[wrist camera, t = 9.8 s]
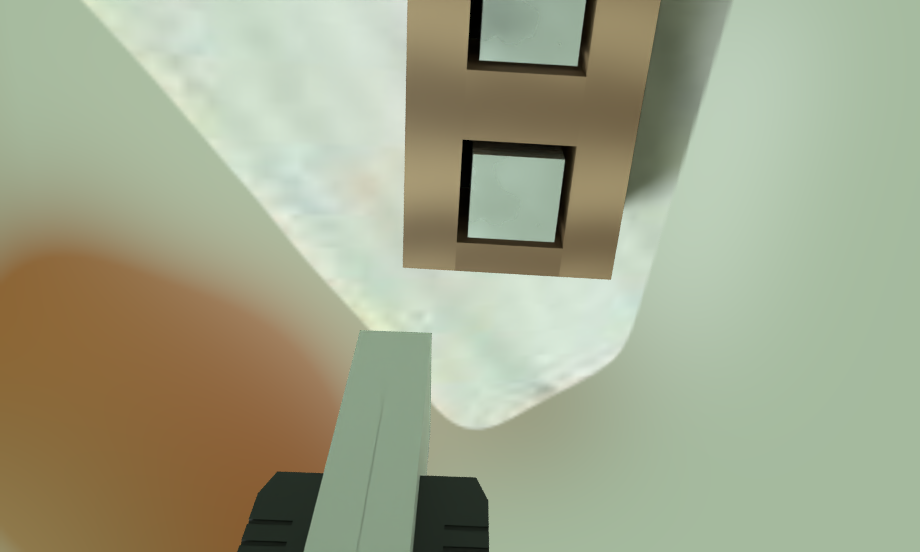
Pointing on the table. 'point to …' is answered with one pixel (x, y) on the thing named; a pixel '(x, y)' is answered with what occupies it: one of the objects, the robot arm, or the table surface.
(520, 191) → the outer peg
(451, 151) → the wooden peg hole block
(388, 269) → the table surface
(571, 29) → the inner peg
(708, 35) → the table surface
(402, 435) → the robot arm
